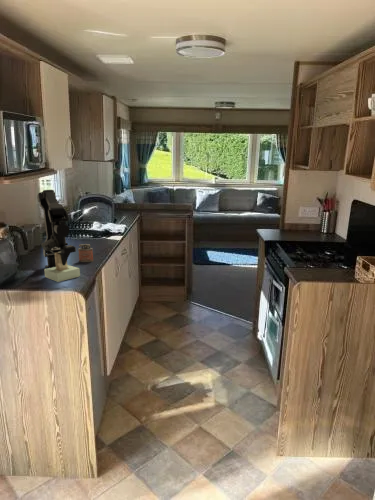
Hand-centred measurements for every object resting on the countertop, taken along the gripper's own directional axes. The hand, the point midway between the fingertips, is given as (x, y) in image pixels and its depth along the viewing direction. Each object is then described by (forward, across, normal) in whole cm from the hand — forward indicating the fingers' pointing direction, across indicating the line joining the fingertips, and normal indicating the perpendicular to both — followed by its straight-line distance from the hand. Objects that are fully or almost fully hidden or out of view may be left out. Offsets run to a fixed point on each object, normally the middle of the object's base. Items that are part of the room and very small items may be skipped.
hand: (61, 264), depth 186 cm
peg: (+4, 0, 0) cm, 4 cm away
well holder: (+6, 0, 0) cm, 6 cm away
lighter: (+6, -17, +25) cm, 31 cm away
